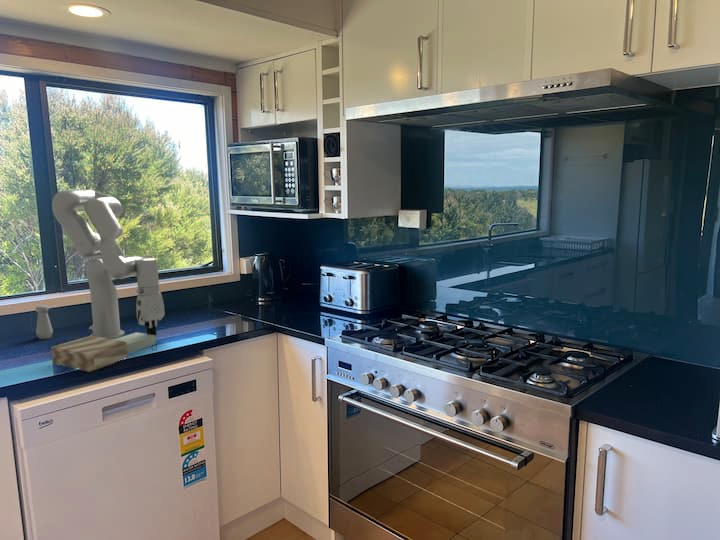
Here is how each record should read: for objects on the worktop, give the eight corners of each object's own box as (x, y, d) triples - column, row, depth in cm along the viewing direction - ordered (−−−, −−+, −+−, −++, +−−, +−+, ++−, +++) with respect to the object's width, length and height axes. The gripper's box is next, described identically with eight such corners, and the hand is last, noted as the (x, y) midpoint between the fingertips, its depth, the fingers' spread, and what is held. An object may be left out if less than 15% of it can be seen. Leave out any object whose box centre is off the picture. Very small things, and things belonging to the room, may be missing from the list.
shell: (108, 350, 195) (107, 341, 195) (137, 341, 207) (136, 332, 206) (127, 354, 191) (126, 344, 190) (156, 344, 202) (155, 335, 202)
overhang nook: (53, 363, 181) (51, 346, 180) (92, 351, 194) (91, 335, 193) (88, 371, 173) (87, 354, 172) (127, 358, 186) (126, 341, 185)
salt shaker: (38, 336, 214) (35, 304, 211) (54, 335, 216) (51, 303, 213) (35, 340, 208) (31, 307, 206) (51, 338, 210) (48, 306, 208)
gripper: (140, 294, 196) (143, 343, 198) (170, 287, 209) (173, 333, 212) (125, 293, 199) (129, 340, 202) (156, 286, 212) (159, 331, 215)
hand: (151, 336), depth 207 cm, fingers closed
